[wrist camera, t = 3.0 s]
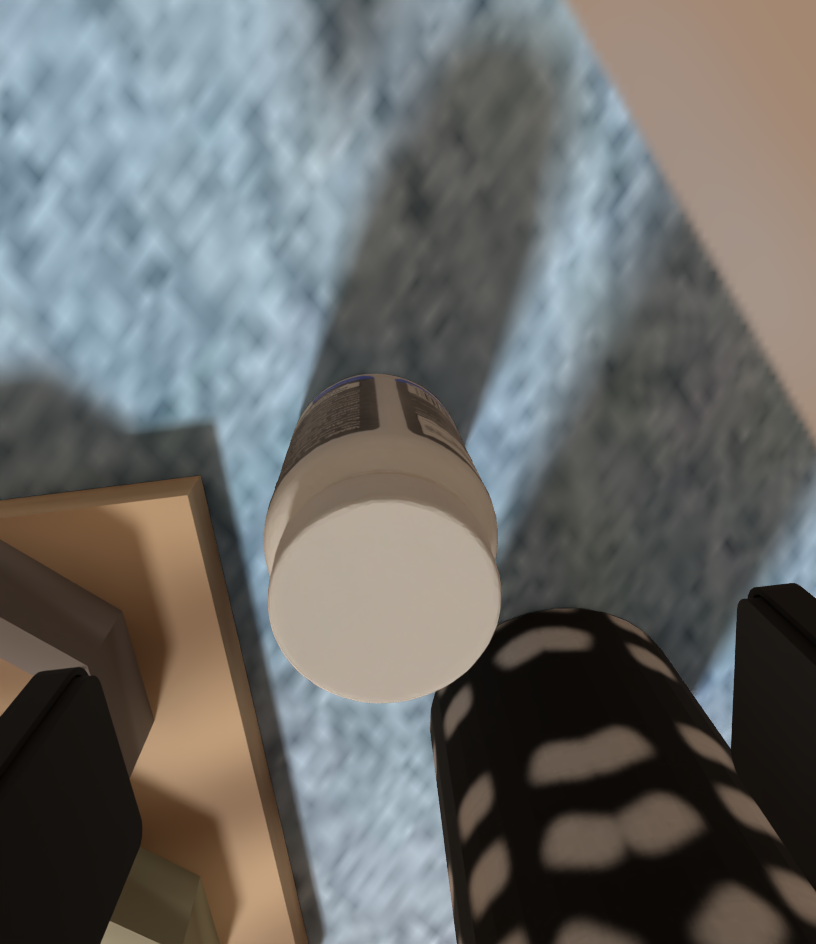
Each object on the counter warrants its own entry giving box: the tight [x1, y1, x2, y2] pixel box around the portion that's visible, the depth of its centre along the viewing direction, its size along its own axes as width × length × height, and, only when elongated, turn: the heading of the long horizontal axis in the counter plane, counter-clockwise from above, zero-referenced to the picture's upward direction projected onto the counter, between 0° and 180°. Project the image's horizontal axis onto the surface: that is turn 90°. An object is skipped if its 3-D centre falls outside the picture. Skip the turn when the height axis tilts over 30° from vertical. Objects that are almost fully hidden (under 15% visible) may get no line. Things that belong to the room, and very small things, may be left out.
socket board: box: [0, 476, 309, 944], centre depth 21 cm, size 20×14×4 cm
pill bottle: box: [264, 374, 501, 703], centre depth 15 cm, size 5×5×8 cm
